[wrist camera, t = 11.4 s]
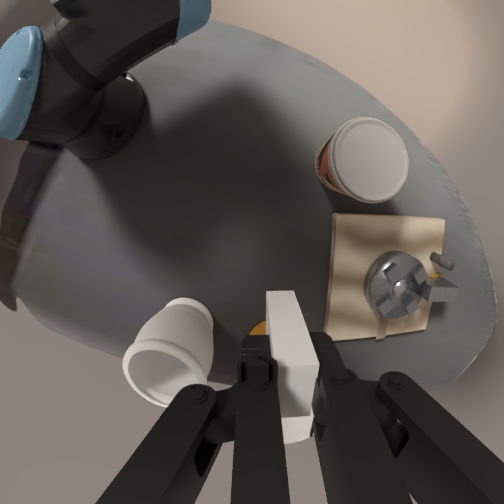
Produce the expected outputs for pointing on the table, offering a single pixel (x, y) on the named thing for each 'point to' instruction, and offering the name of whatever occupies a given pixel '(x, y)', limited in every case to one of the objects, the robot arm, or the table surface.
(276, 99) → the table surface
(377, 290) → the grey notched machine part
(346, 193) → the coffee cup
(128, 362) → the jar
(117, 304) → the table surface
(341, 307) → the housing plate
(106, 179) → the table surface
